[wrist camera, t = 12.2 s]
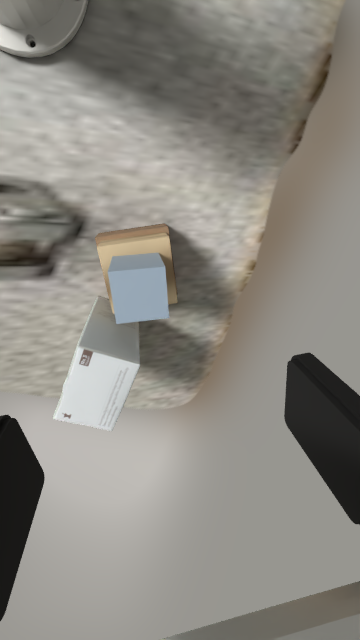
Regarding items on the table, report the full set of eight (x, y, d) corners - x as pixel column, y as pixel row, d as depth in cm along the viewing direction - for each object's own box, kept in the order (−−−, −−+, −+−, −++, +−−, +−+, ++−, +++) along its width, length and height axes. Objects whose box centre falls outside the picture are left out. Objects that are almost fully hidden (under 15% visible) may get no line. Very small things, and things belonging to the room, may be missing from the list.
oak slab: (100, 240, 30) (96, 246, 26) (164, 231, 30) (169, 236, 27) (114, 300, 33) (112, 313, 29) (172, 291, 33) (177, 302, 30)
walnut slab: (98, 233, 33) (95, 237, 29) (164, 223, 34) (168, 226, 30) (114, 295, 36) (112, 305, 33) (172, 284, 37) (177, 294, 34)
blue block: (112, 256, 27) (107, 271, 21) (158, 252, 27) (165, 266, 22) (119, 299, 28) (116, 324, 23) (161, 295, 29) (169, 318, 24)
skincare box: (120, 356, 40) (114, 436, 27) (78, 344, 38) (49, 424, 25) (140, 305, 37) (145, 367, 24) (96, 291, 35) (75, 348, 22)
